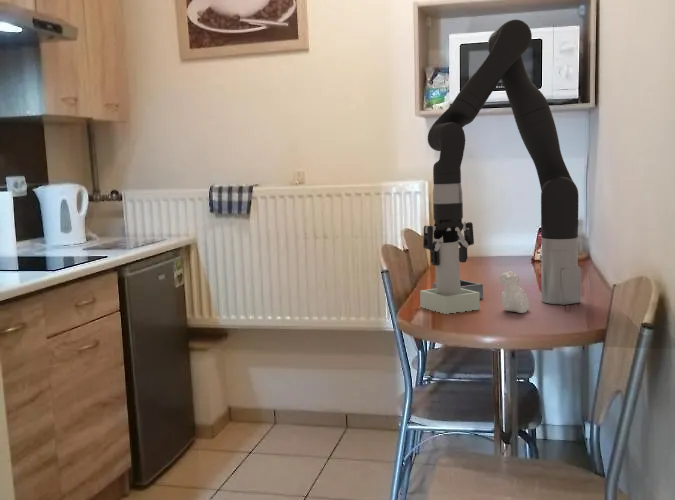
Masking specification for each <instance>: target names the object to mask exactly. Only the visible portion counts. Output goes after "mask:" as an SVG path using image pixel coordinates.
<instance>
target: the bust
mask: <svg viewBox="0 0 675 500" xmlns="http://www.w3.org/2000/svg"><path fill="white" fill-rule="evenodd" d="M498 279H499V283H500V284H501V285H505V288H504V290H503V291H502V292H501V305H502V306H503V308H504V309H505V310H506V311H507V312H514V313H519V314H523V313H524V314H526V313H527V311H528V310H529V309H530V301H529V298H528V297H527V294H526V292H525V290H524V289H523V288H521V286H519V285H518V284H519V283H520V276H519V275H518V274H516V273H515V272H513V271H511V270H509V271H507V272H506V271H503V272H502V273H501V274H500V276H499V278H498Z"/></svg>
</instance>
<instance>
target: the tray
mask: <svg viewBox="0 0 675 500" xmlns="http://www.w3.org/2000/svg"><path fill="white" fill-rule="evenodd" d="M419 295H420V296H419V297H420V299H419V300H420V301H419V302H420V303H419V304H420V308H421V307H422V309H425V308H426V309H425V310H428V309H429V310H428V311H431V312H435V311H436V312H435V313H438V312H440V313H439V314H442V313H444V314H443V315H445V314H447V315H450V314H449V313H454V314H457V313H456V312H460V313H465V311H467V312H472V310H474V311H479V310H480V308H481V306H480V304H481V303H480V301H481V299H480V295H479V292H475V291H471V290H467V289H463V288H461V294H459V295H452V296H443V295H439V294H437V291H436V289H433V288H431V289H430V288H429V289H422V290H421V289H420V292H419Z"/></svg>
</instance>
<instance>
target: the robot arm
mask: <svg viewBox="0 0 675 500" xmlns="http://www.w3.org/2000/svg"><path fill="white" fill-rule="evenodd" d="M532 34H533V33H532V30H531V29H530V27H529V25H528V24H527V23H526V22H525V21H524V20H521V19H511V20H508V21H506V22H503V24H501V25H500V26H499V27H498V28H497V29H495V30H494V31H493V32H492V33H491V34H490V35H489V38H488V42H487V49H488V53H489V54H488V55H487V57H486V58H485V60H484V61H483V62H482V64H481V65H480V66H479V67H478V68H477V69H476V71H475V72H474V73H473V74H472V75H471V76H470V78H469V79H468V80H467V82H466V83H464V85H463V87H462V88H461V90H460V91H459V93H458V94H457V95H456V96H455V98H454V100H453V101H452V102H451V104H450V106H449V107H448V108H447V109H446V110H445V111H444V112H443V113H442V114H441V115H440V116H439V117H438V118H437V120H435V122H434V123H433V124H432V125H431V127H430V128H429V131H428V134H427V143H428V146H429V147H430V148H431V149H432V150H434V151H436V152H437V151H438V152H439V157H438V159H439V160H437V161H436V162H435V163H434V164H433V167H432V168H433V169H432V170H433V173H432V174H433V176H432V177H433V179H432V180H433V188H432V205H433V206H432V210H433V211H432V212H433V214H432V215H433V216H432V217H433V220H434V224H433V225H423V240H422V241H423V246H422V247H423V248H424V249H425V250H428V251H430V263H431V265H432V266H434V267H435V266H438V265H439V251H438V250H439V248H440V246H441V244H443V236H442V237H441V238H440V239H435V238H434V231H437V232H438V230H445V231H457V234H458V237H457V238H458V247H459V263H466V262H467V260H468V247H469V246H472V245H474V244H475V240H474V227H473V226H474V225H473V222H470V221H464V222H463V219H464V213H463V212H464V211H463V210H464V208H463V207H464V206H463V204H464V203H463V189H462V172H461V171H462V170H461V166H462V161H463V159H464V158H463V157H464V153H465V146H466V135H465V130H464V129H463V128H464V127H466V126H468V125H469V124H471V123H472V122H473V121H474V120H475V118H477V116H478V115H479V113H480V111H481V110H482V109H483V107H484V105H485V104H486V102H487V101H488V99H489V97H490V96H491V94H492V93H493V91H495V88H496V87H497V86H498V84H499V82H500V81H501V82H502V85H503V88H504V90H505V94H506V97H507V99H508V102H509V105H510V108H511V111H512V115H513V117H514V120H515V124H516V127H517V129H518V132H519V135H520V138H521V139H522V141H523V144H524V147H525V148H526V150H527V153H528V154H529V156H530V158H531V160H532V162H533V165H534V166H535V171H536V173H537V178H538V181H539V187H540V190H541V192H540V218H541V219H540V226H541V227H540V229H541V231H540V232H541V233H540V234H541V302H543V303H546V304H552V305H561V306H562V305H563V306H564V305H571V304H572V305H573V304H578V303H581V299H582V298H581V289H582V288H581V287H582V286H581V279H582V278H581V277H582V276H581V274H582V273H581V272H582V271H581V270H582V269H581V267H580V265H578V263H579V262H578V259H579V249H578V248H579V247H578V246H579V243H578V242H579V189H578V187H577V185H576V183H575V182H574V180H573V179H572V177H571V174H570V172H569V170H568V167H567V165H566V163H565V161H564V158H563V156H562V151H561V146H560V141H559V134H558V130H557V128H556V124H555V119H554V116H553V114H552V111H551V108H550V105H549V103H548V99H546V97H545V96H544V94H543V92H541V90H540V89H539V88H538V87H537V86H536V84H534V83H533V81H532V80H531V78H530V77H529V75H528V73H527V70H526V68H525V64H524V62H523V58H522V55H523V54H524V53H526V51H527V50H528V49H529V47H530V46H531V43H532V39H533V37H532V36H533V35H532ZM462 231H463V232H462ZM436 242H437V243H436ZM435 243H436V244H435Z"/></svg>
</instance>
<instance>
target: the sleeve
mask: <svg viewBox="0 0 675 500" xmlns="http://www.w3.org/2000/svg"><path fill="white" fill-rule="evenodd" d="M460 287H461V288H463V289H467V290H471V291H475V292H479V295H480V300H482V299H484V284H483V283H479V282H476V281H475V282H474V281H469V280H464V279H461V278H460ZM432 289H436V281H435V282H432Z"/></svg>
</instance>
